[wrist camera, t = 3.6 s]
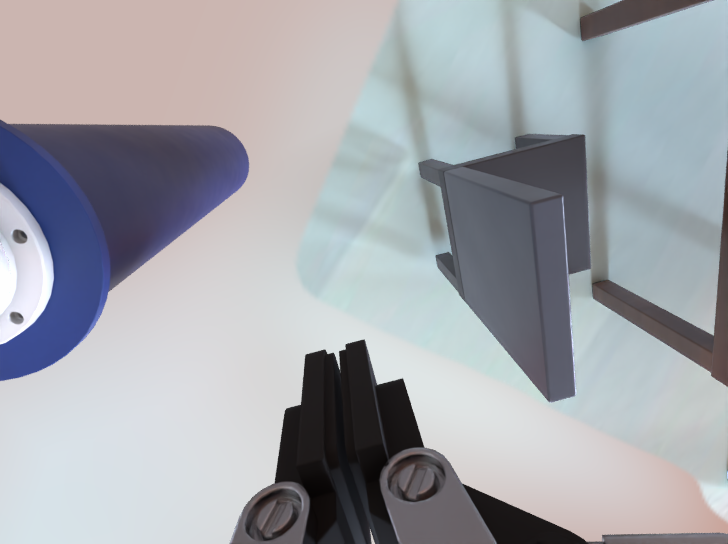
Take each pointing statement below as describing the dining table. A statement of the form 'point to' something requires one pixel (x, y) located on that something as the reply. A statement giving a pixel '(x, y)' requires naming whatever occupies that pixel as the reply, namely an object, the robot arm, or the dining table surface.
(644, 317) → the desk
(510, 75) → the dining table surface
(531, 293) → the chair
